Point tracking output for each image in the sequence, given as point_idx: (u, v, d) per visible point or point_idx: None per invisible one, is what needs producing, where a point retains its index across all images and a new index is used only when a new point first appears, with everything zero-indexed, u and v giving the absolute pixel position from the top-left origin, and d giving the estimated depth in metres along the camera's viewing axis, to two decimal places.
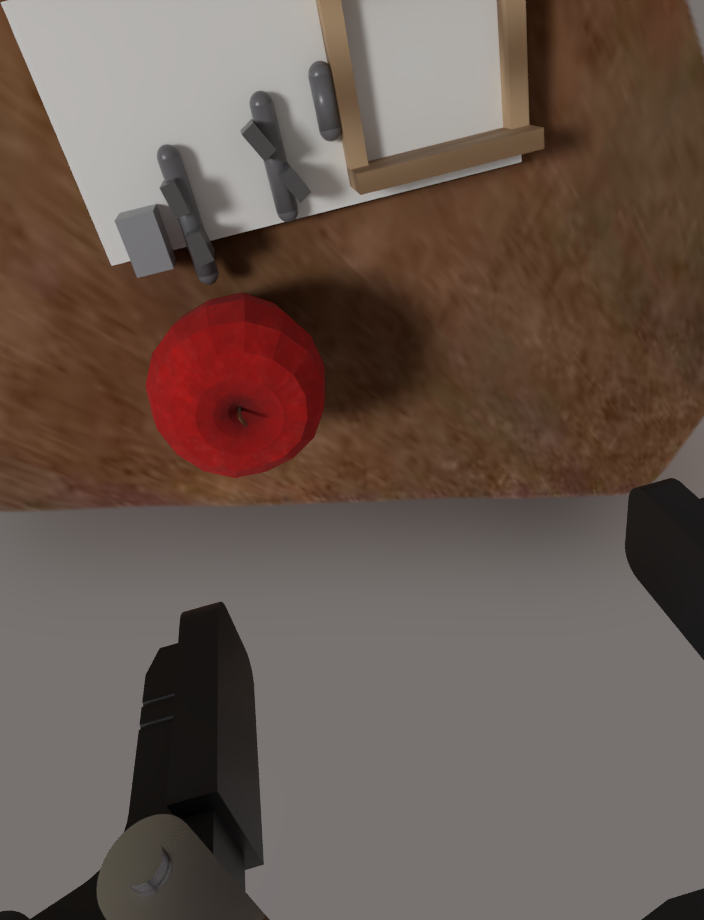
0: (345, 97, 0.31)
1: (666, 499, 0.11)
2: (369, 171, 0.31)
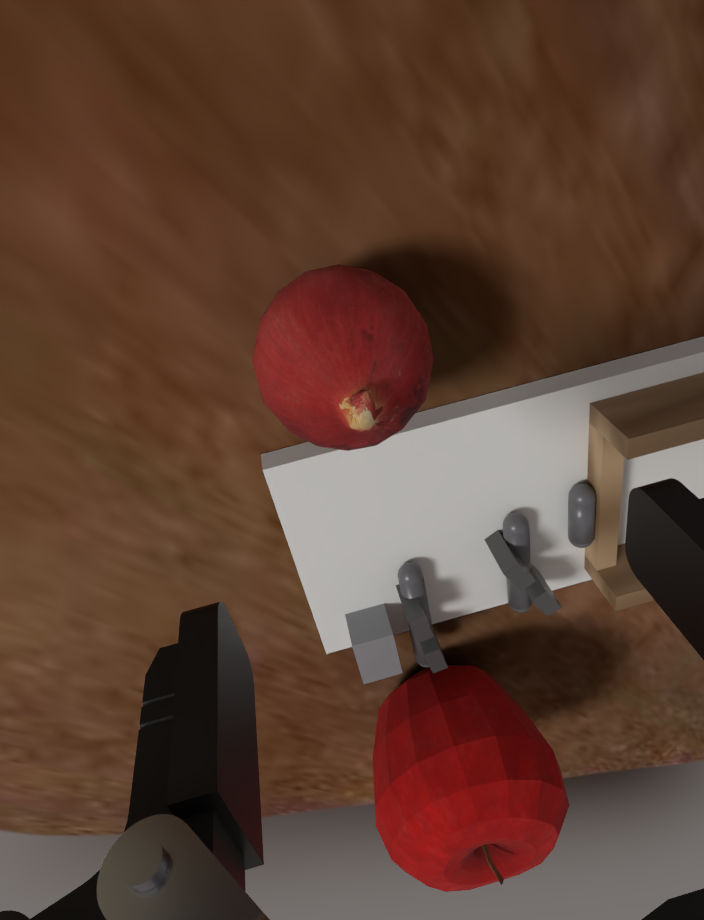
0: (608, 518, 0.28)
1: (666, 499, 0.11)
2: (629, 592, 0.29)
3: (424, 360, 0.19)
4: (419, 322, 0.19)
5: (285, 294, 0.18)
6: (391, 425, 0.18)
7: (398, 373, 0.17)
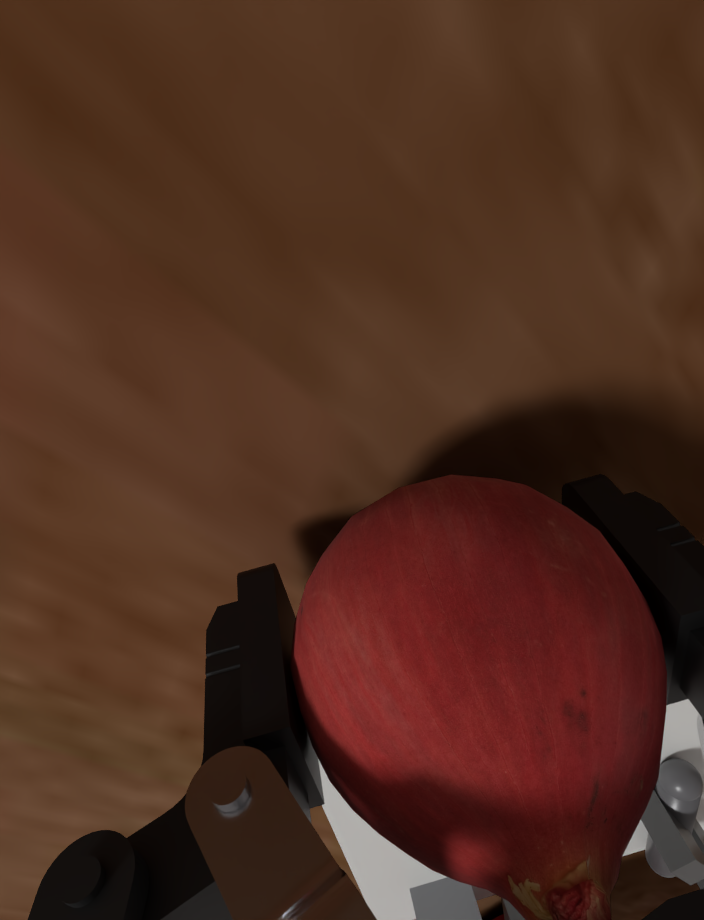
0: None
1: (592, 494, 0.11)
2: None
3: None
4: (651, 622, 0.09)
5: (365, 566, 0.09)
6: None
7: (639, 786, 0.07)
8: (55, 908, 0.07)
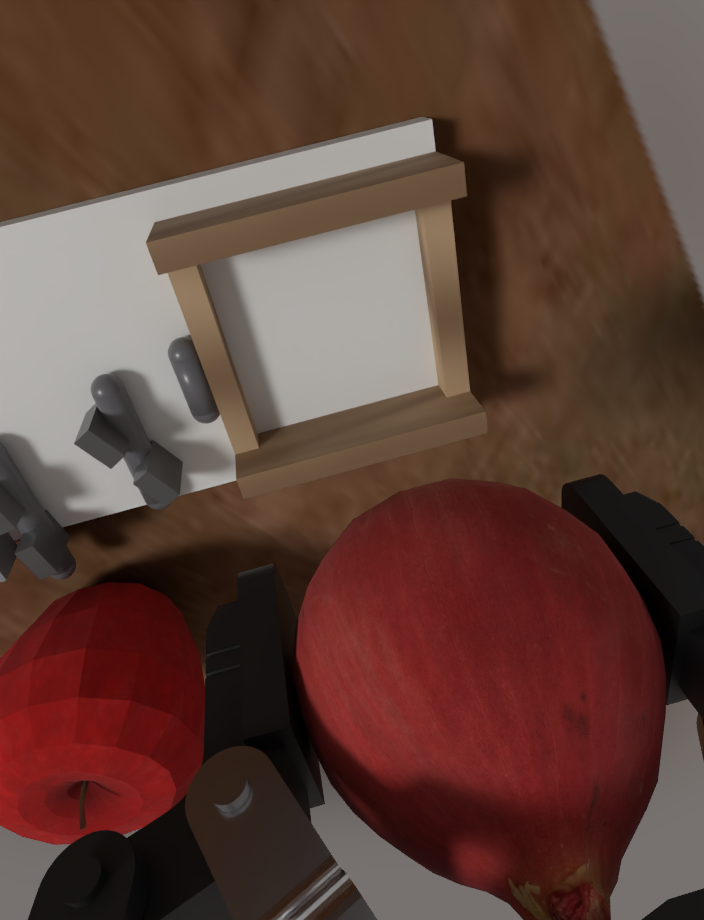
0: (219, 380, 0.23)
1: (592, 494, 0.11)
2: (253, 473, 0.23)
3: None
4: (650, 625, 0.09)
5: (366, 570, 0.09)
6: None
7: (638, 790, 0.08)
8: (55, 908, 0.07)
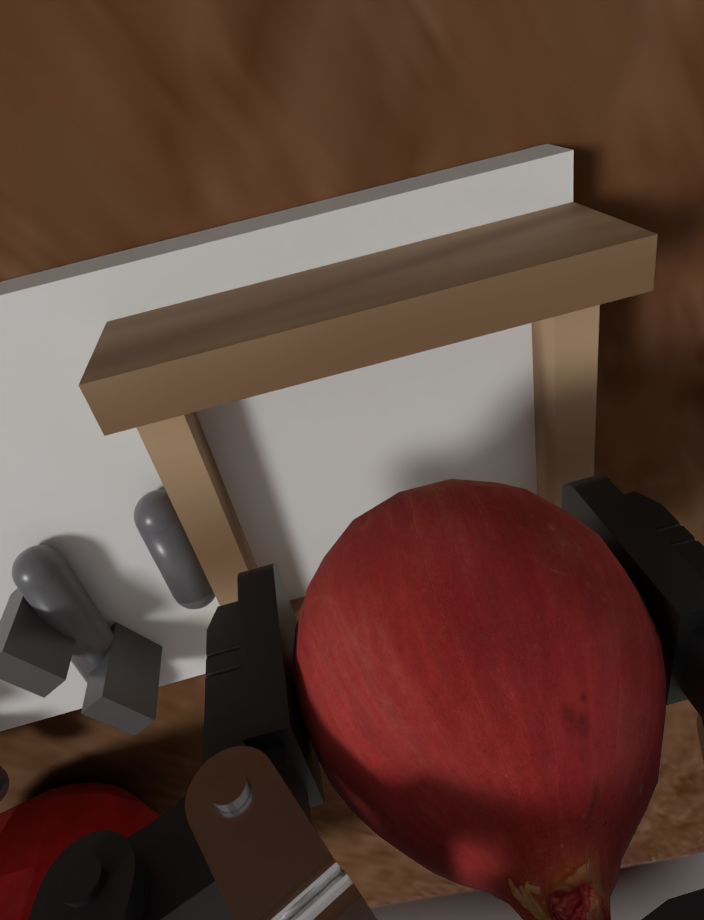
0: (216, 555, 0.15)
1: (591, 494, 0.11)
2: None
3: None
4: (650, 625, 0.09)
5: (366, 570, 0.09)
6: None
7: (638, 790, 0.08)
8: (55, 908, 0.07)
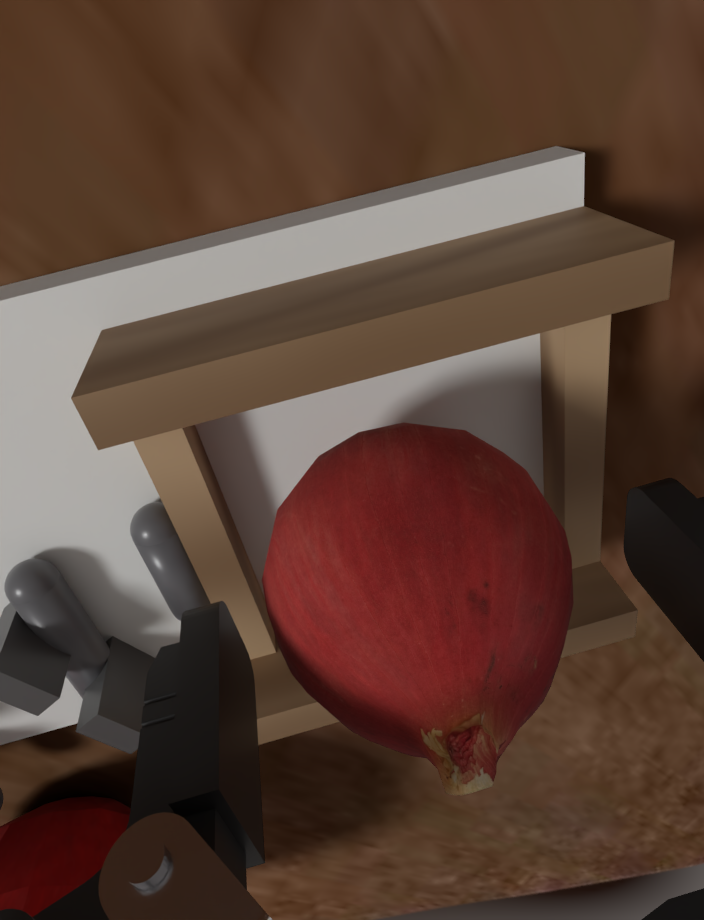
0: (214, 569, 0.14)
1: (664, 499, 0.11)
2: (269, 713, 0.15)
3: (568, 611, 0.10)
4: (560, 542, 0.10)
5: (321, 489, 0.10)
6: None
7: (533, 665, 0.09)
8: None
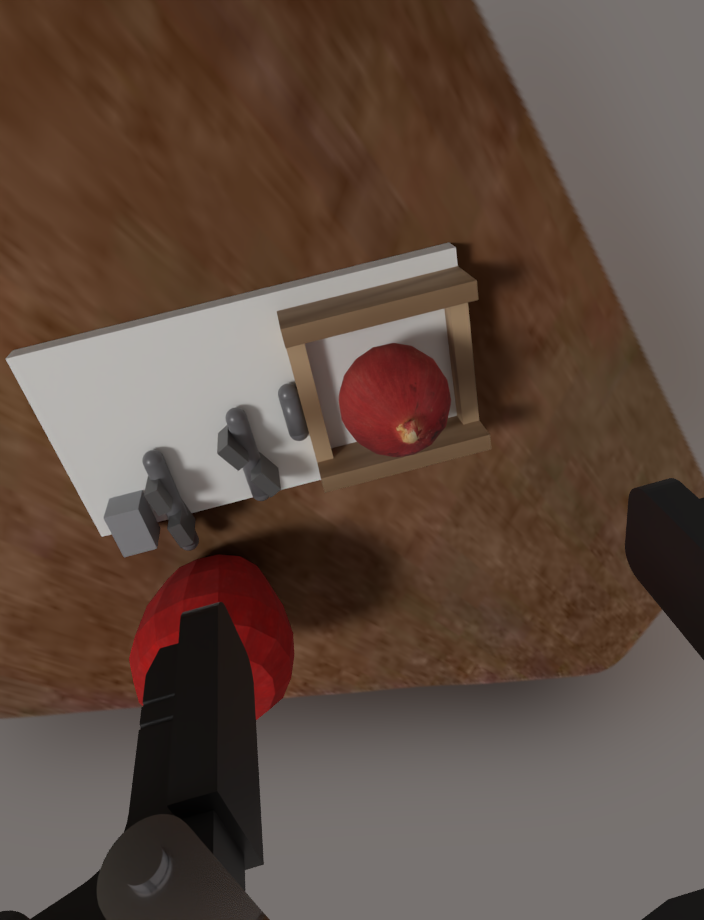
0: (311, 412, 0.34)
1: (666, 499, 0.11)
2: (332, 475, 0.35)
3: (446, 402, 0.31)
4: (443, 379, 0.31)
5: (362, 361, 0.31)
6: (425, 441, 0.30)
7: (430, 410, 0.29)
8: None
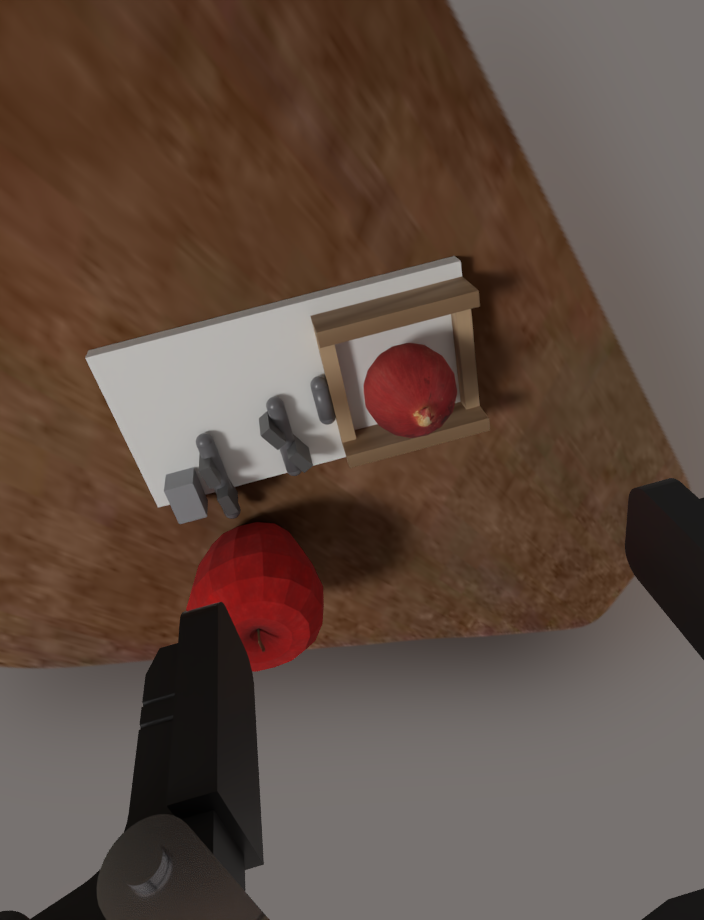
0: (338, 400, 0.41)
1: (666, 499, 0.11)
2: (356, 453, 0.41)
3: (453, 392, 0.37)
4: (450, 373, 0.37)
5: (383, 358, 0.37)
6: (437, 424, 0.37)
7: (441, 399, 0.36)
8: None
